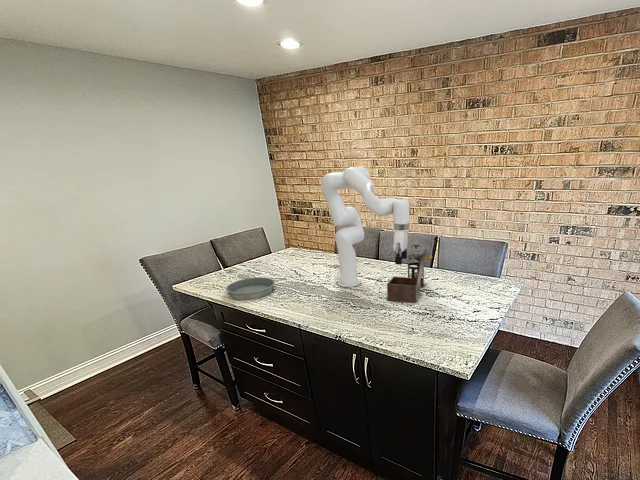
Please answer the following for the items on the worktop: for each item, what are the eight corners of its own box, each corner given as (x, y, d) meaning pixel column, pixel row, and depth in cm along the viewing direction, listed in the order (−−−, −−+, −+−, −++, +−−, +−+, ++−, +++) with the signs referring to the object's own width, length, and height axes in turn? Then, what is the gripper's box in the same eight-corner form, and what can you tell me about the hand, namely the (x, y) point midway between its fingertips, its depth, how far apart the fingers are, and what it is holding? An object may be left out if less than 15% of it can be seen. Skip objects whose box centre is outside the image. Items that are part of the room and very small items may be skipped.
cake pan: (239, 305, 167) (238, 296, 166) (220, 293, 183) (218, 285, 181) (284, 291, 184) (283, 283, 182) (263, 281, 199) (261, 274, 198)
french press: (420, 289, 183) (420, 248, 174) (404, 287, 186) (404, 246, 178) (427, 282, 193) (428, 243, 184) (412, 280, 196) (411, 241, 188)
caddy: (387, 300, 170) (387, 283, 167) (393, 292, 180) (393, 276, 177) (415, 302, 166) (415, 286, 163) (420, 294, 177) (420, 278, 173)
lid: (420, 254, 156) (430, 257, 156) (425, 248, 167) (434, 250, 166) (414, 285, 163) (424, 287, 162) (419, 277, 173) (428, 279, 172)
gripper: (398, 223, 168) (398, 256, 175) (388, 230, 153) (388, 266, 160) (413, 223, 166) (412, 257, 173) (404, 231, 151) (404, 267, 158)
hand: (401, 261), depth 167 cm, fingers open, 9 cm apart
